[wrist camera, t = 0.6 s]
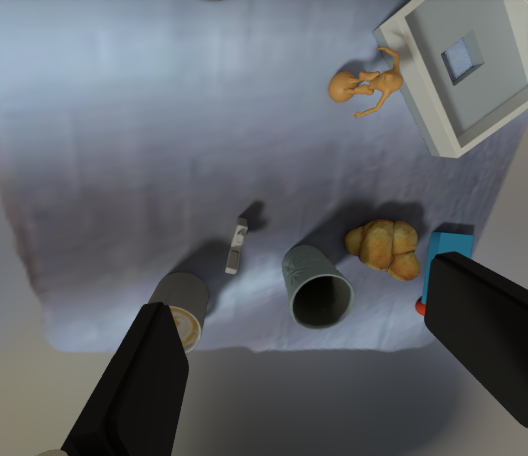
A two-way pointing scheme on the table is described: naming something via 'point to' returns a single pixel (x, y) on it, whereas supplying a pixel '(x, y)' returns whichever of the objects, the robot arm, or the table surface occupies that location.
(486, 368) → the robot arm
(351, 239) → the bread roll
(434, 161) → the table surface
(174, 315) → the coffee mug
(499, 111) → the tray
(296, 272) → the green cup
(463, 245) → the lever
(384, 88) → the figurine
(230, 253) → the lighter
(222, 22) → the table surface
